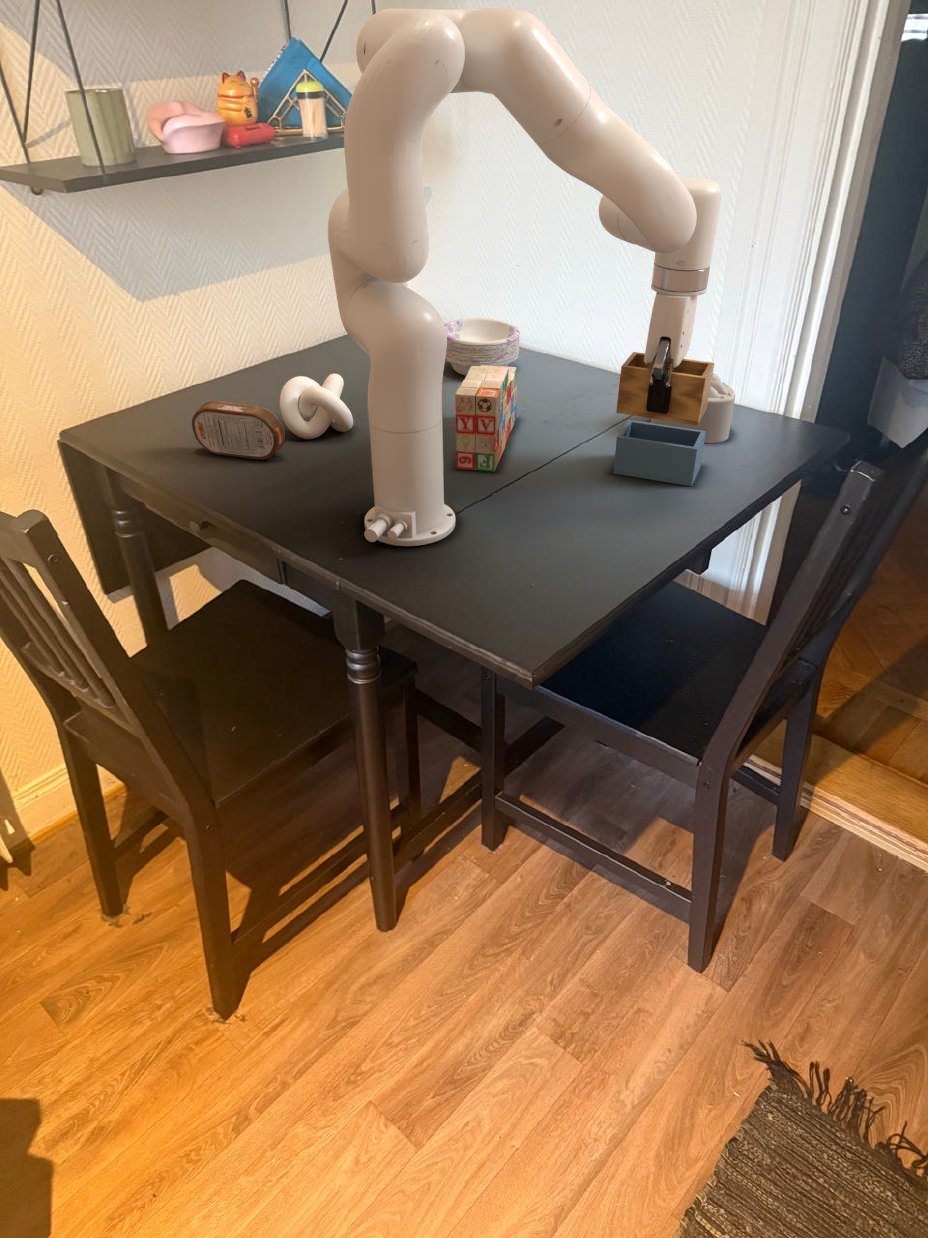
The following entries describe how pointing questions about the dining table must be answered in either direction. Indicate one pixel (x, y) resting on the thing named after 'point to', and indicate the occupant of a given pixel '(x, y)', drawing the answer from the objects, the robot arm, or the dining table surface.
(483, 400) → the stack of blocks
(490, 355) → the paper bowls
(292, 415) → the white knot sculpture
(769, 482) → the dining table surface
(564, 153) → the robot arm
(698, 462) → the blue basket
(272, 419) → the tin
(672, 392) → the wooden basket
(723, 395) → the lumpy-topped squat cylinder
